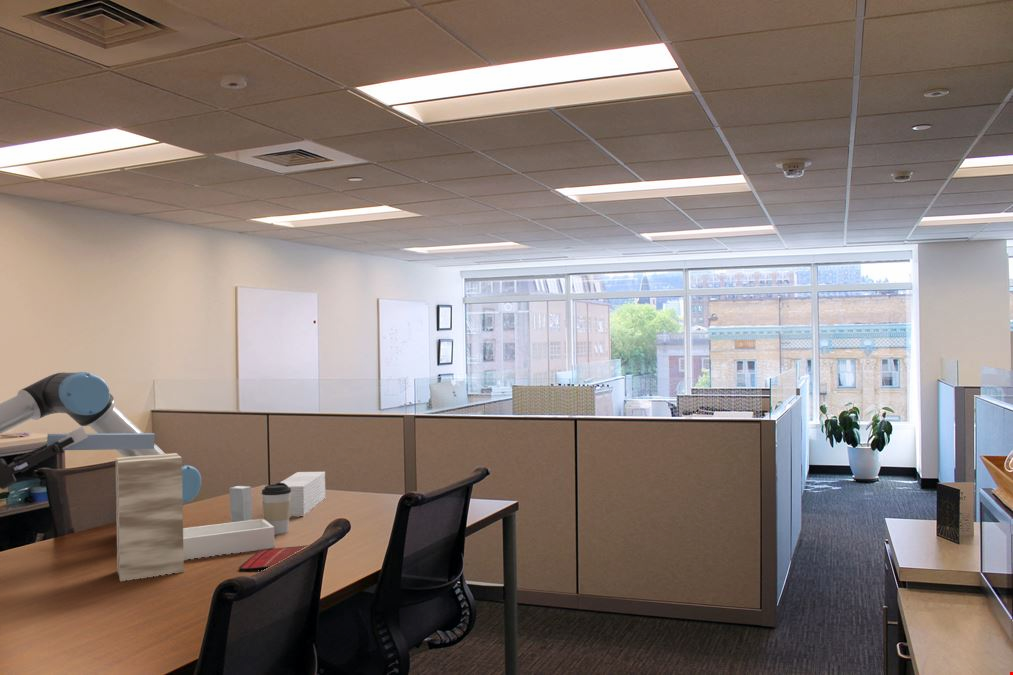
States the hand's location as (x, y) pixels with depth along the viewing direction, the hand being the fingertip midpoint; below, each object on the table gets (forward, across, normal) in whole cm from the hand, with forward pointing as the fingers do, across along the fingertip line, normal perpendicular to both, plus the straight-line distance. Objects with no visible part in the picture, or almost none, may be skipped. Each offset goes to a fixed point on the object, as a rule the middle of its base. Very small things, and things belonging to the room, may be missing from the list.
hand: (85, 431), depth 216 cm
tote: (+12, 0, -47) cm, 48 cm away
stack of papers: (+47, -47, -65) cm, 93 cm away
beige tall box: (-3, +14, -39) cm, 42 cm away
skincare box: (+26, -33, -54) cm, 68 cm away
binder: (+25, +22, -54) cm, 63 cm away
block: (+1, 0, -6) cm, 6 cm away
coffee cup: (+32, -13, -57) cm, 67 cm away
